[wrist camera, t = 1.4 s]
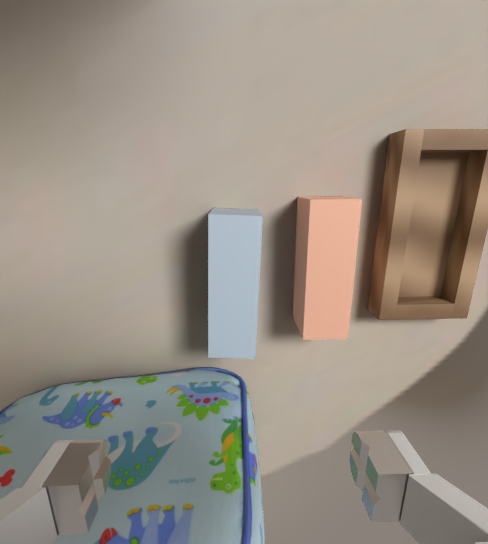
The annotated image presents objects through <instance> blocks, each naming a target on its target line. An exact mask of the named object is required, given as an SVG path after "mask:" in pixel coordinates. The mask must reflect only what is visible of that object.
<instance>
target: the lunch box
mask: <svg viewBox="0 0 488 544" xmlns="http://www.w3.org/2000/svg"><path fill="white" fill-rule="evenodd" d="M58 440H107V443H108V448H109V449H108V451H107V453H106V456H107V457H108V458H109V459H110V460H111V476H110V481H109V485H108V488H107V490H106V493H105V494H104V495H103V496H102V497H101V498H100V499H99V500H98V501H97V504H98V511H97V514H96V516H95V519H94V521H93V523H92V526H91V528H90V530H89V533H85V534H72V535H58V538H57V539H56V540H55V541H54V542H53V543H52V544H265V538H264V516H263V505H262V493H261V479H260V465H259V454H258V446H257V441H256V432H255V423H254V417H253V412H252V408H251V402H250V397H249V393H248V388H247V386H246V383H245V382H244V380H243V379H242V378H241V377H240V376H238V375H237V374H235V373H233V372H230V371H227V370H224V369H218V368H194V369H187V370H180V371H173V372H166V373H159V374H152V375H144V376H135V377H126V378H125V377H120V378H112V379H107V380H99V381H89V382H76V383H68V384H62V385H58V386H54V387H50V388H47V389H44V390H41V391H38V392H35V393H33V394H30V395H28V396H25V397H22V398H20V399H18V400H17V401H16V402H14V403H13V404H11V405H9V406H8V407H6V408H5V409H3V410H2V411H1V412H0V500H1V499H2V498H4V497H5V496H6V495H8V494H9V493H11V492H12V491H13V490H15V489H16V488H22V487H23V485H24V484H25V483H26V481H27V480H28V478H29V477H30V476H31V474H32V473H33V471H34V470H35V469H36V467H37V466H38V464H39V463H40V462H41V460H42V459H43V457H44V456H45V455H46V453H47V452H48V450H49V449H50V448H51V446H52V445H53V444H54V443H55V442H56V441H58Z"/></svg>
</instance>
